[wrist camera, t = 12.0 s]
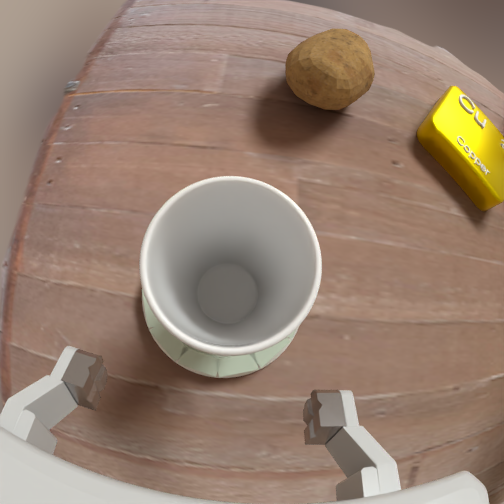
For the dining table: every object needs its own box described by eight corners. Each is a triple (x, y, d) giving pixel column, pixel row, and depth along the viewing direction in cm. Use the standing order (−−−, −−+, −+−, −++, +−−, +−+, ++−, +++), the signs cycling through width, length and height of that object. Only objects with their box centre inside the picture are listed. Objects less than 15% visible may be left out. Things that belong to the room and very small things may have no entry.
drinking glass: (175, 316, 24) (107, 310, 9) (206, 244, 26) (185, 149, 11) (250, 347, 24) (286, 385, 9) (278, 273, 26) (346, 213, 11)
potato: (371, 81, 34) (394, 42, 26) (339, 144, 30) (367, 98, 22) (309, 49, 34) (322, 6, 26) (261, 103, 31) (271, 51, 23)
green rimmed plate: (231, 190, 28) (231, 181, 26) (332, 302, 26) (340, 301, 24) (114, 285, 25) (107, 283, 23) (216, 407, 23) (215, 413, 21)
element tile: (410, 138, 32) (429, 118, 28) (440, 96, 36) (455, 79, 31) (482, 218, 31) (506, 207, 26) (500, 161, 34) (517, 149, 30)
